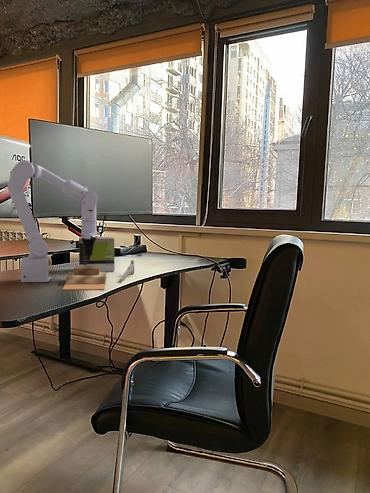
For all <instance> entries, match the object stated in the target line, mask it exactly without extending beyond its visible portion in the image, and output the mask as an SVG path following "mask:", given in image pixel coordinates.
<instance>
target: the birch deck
mask: <svg viewBox="0 0 370 493" xmlns="http://www.w3.org/2000/svg"><path fill="white" fill-rule="evenodd" d="M106 283H107V271H104V272H100V273H99V275H74V271H68V273H67V274H66V276H65V284H105V285H106Z"/></svg>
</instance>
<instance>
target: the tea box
mask: <svg viewBox="0 0 370 493" xmlns="http://www.w3.org/2000/svg"><path fill="white" fill-rule="evenodd" d="M95 237H96V240H95V243H94V247H93V252H92V256H86V253H85V248H84V244H83V242H82V240H81V238H85V236H79V238H78V266H100V272H115V238H114V236H95Z"/></svg>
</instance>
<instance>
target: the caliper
mask: <svg viewBox="0 0 370 493" xmlns="http://www.w3.org/2000/svg"><path fill="white" fill-rule="evenodd" d="M134 274H135V262H134V259H132V260H130V263H129V265H128V267H127V268H126V270H125V271H124V272H123V274H122V275H121V276H120V278H119V279H118V280H119V281H118V284H121V283H123V282H124V281H125V279H126V278H127V277H128V275H134Z"/></svg>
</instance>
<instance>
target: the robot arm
mask: <svg viewBox="0 0 370 493" xmlns="http://www.w3.org/2000/svg"><path fill="white" fill-rule="evenodd" d="M31 178H32V179H43V180H44V181H47V182H49V183H50V184H53V185H54V186H57V187H58V188H61V189H62V193H63V194H65V195H67V196H69V197H70V198H72V199H74V200H77V201H78V202H80V203H81V232H80V234H81V235H82V236H83V237H85V238H81V240H82V242H83V244H84V248H85V253H86V256H92V252H93V247H94V243H95V240H96V237H97V235H100V232H98V231H97V204H98V202H99V197H98V194H97V193H96V192H95V191H94V190H88V189H89V187H87V186H83V185H81V184H79V183H78V181H77V180H76V179H73V180H72V179H68V180H65V179H63V178H62V177H60V176H59V175H56V174H55V173H53V172H52V171H50V170H48V169H46V168H44V167H42V166H40V165H38V164H37V163H32V162H30V161H29V160H26V159H25V160H24V159H23V160H20V161H18V162H17V163H16V164H15V166H14V167H13V168H12V169H11V172H10V176H9V179H8V183H7V187H6V188H7V191H8V194H9V196H10V198H11V201H12V203H13V206H14V209H15V210H16V213H17V216H18V218H19V221H20V222H21V223H20V224H21V225H22V229H23V231H24V233H25V237H26V239H27V242H28V243H27V250H28V251H29V254H28V255H27V256H23V257H22V258H21V261H20V283H47V282H49V281H50V280H51V278H52V276H49V274H50V273H49V255H48V253H49V250H50V248H49V244H48V243H47V242H46V240H44V238H43V236H42V234H41V232H40V230H39V229H38V225H37V222H36V221H35V218H34V216H33V213H32V210H31V208H30V206H29V203H28V202H29V201H27V197H26V196H25V192H24V191H23V189H24V188H25V185H26V184H27V182H28V181H29V180H30V179H31Z"/></svg>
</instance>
